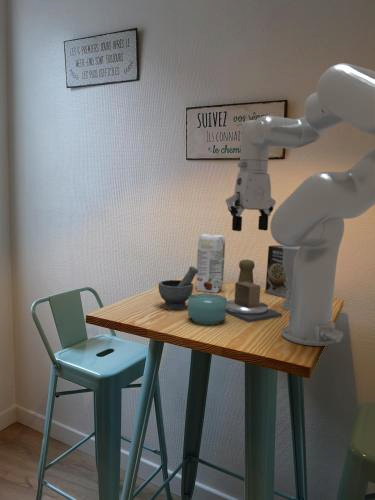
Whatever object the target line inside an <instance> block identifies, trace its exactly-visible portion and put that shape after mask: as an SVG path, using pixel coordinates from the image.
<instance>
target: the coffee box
mask: <svg viewBox="0 0 375 500" xmlns="http://www.w3.org/2000/svg"><path fill="white" fill-rule="evenodd" d="M282 247H284V246H283V245H281V244H279V245H268V249H267V250H268V252H267V266H266V267H267V268H266V275H265V276H266V279H265V292H266V293H265V294H269V295H273V296H276V295H277V297H281V298H285V299H288V296H289V293H288V291H289V286H288V285H289V283H290V279H289V278H287V276H286V274H285V271H284V268H283V264H282V263H283V249H282Z"/></svg>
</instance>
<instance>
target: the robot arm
mask: <svg viewBox="0 0 375 500" xmlns="http://www.w3.org/2000/svg"><path fill="white" fill-rule="evenodd" d="M303 110H304V116H302V117H299V118H296V119H295V118H294V119H293V118H289V117H282V116H275V115H263V116H260V117H258V118H256V119H251V120H247V121H244V122H243V123H242V125H241V137H240V139H241V140H240V157H239V161H238V163H237V167H238V168H239V171H238V173H237V176H236V181H235V185H234V194H233V195H230V197H228V198H226V199H225V203H226V206H227V210H228V211H229V213H230V215H231V216H232V222H231V231H235V232H242V230H243V229H242V225H243V216H241V215H242V214H243V212H244V211H245V210H248V211H250V210H251V211H253V210H254V211H255V210H256V211H258V212H259V214H260V215H259V216H258V226H257V227H258V228H257V229H258V230H260V231H264V232H265V231H268V230H269V228H268V227H269V217H271V213H272V212H273V211H274V208H275V205H276V200H275V199H274V198H273V197H272V186H271V184H272V183H271V176H270V174H269V173H268V166H269V165H268V164H269V151H270V150H269V149H270V148H280V149H287V150H292V149H295V150H296V149H298V148H302V147H304V146H308V145H310V144H313V143H315V142H318V141H319V140H320V139H321V138H322V137H323V136H324V135H325V133H326V132H327V131H328V129H331V128H333V127H337V126H338V125H340V124H344V123H345V122H347V123H348V124H350V125H351V126H353V127H354V128H356V129H357V130H360V131H361V132H363V133H366V134H369V135H372V136H373V135H374V136H375V71H374V70H372V69H368V68H365V67H361V66H358V65H355V64H352V63H351V64H350V63H346V62H345V63H343V62H342V63H338V64H334V65H332V66H330V67H328V68H327V69H326V70H325V71H324V72H323V73H322V75H320V77H319V80H318V81H317V85H316V91H315V92H313V93H312V94H310V95H309V96H308V97H307V99H306V100H305V102H304V107H303ZM373 206H375V148H374V149H372V150H371V151H369V152H368V153H367V154H365V155H364V156H363V157H362V158H361V159H360V160H359V162H357V163H356V164H355V165H354V166H352V167H351V168H350V169H348V170H346V171H319V172H317V173H314V174H313V175H311V176H309V177H307V178H306V179H305V180H303V182H302V183H300V184H299V186H298V187H297V188H295V190H294V191H293V192H292V193H291V194H290V195H289V196H288V197H287V198H286V199H285V200H284V201H283V202H282V203H281V204H280V205H279V206H278V207H277V208H276V209H275V211H274V213H273V215H272V217H271V220H270V234H271V237H272V239H273V240H274V241H275V242H276V243H277V244H279V245H280V246H287V247H300V248H299V250H298V252H297V254H296V257H295V260H294V266H293V278H292V291H291V304H290V310H289V320H288V325H286V326H284V327H283V328H281V335H282V337H283V338H284V339H285V340H288V341H290V342H293V343H295V344H299V345H303V346H309V347H310V346H312V347H325V346H331V345H333V344H336V343H338V344H339V343H340V342H341V341H342V338H343V337H344V333H343V332H342V331H340V330H336V328H335V327H336V322H334V321H332V316H333V314H332V313H333V305H334V304H333V303H334V292H335V283H336V273H337V272H336V271H337V262H338V256H339V250H340V246H341V243H342V240H343V236H344V231H345V219H346V220H347V219H354V218H358V217H360V216H361V215H363V214H364V213H366V212H368V210H370V208H372V207H373Z"/></svg>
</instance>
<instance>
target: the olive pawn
mask: <svg viewBox="0 0 375 500" xmlns="http://www.w3.org/2000/svg"><path fill="white" fill-rule="evenodd" d="M238 268H239V269H240V271H239V275H238V280H237V282H250V283H253V284H254V271H253V270H254V269H255V262H254V261H253V260H252V259H241V260H239V263H238Z"/></svg>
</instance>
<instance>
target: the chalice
mask: <svg viewBox="0 0 375 500" xmlns="http://www.w3.org/2000/svg"><path fill="white" fill-rule="evenodd" d="M299 248H300V247H287V246H284V247H282V249H283V263H282V264H283V268H284V271H285V274H286V276H287V278H289V279H290V283H289V285H288V286H289V291H288V293H289V296H288V298H285V299H284V300H283V302H282V304H281V306H280V308H281V309H283V310H284V309H285V310H288V311H290V304H291V291H292V278H293V266H294V260H295V257H296V254H297V252H298V250H299Z"/></svg>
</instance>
